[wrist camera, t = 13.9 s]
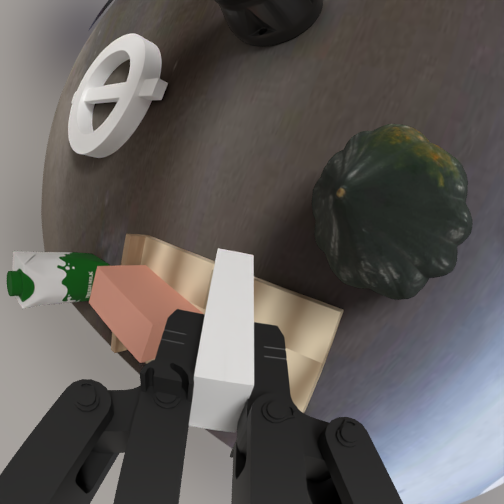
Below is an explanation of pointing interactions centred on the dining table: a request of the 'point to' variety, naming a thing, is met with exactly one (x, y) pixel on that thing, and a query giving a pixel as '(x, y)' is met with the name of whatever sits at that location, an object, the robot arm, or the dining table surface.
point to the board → (265, 308)
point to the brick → (135, 306)
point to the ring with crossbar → (115, 96)
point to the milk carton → (52, 277)
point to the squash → (391, 211)
